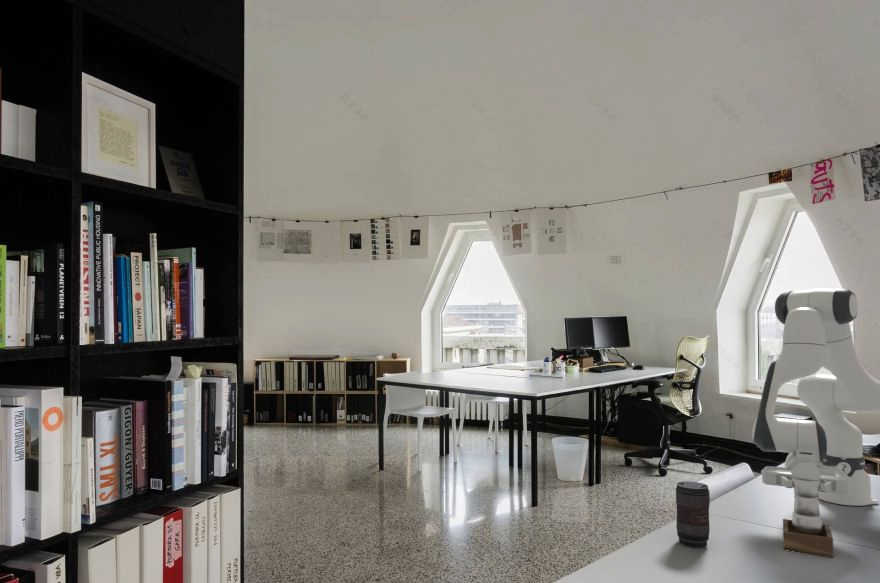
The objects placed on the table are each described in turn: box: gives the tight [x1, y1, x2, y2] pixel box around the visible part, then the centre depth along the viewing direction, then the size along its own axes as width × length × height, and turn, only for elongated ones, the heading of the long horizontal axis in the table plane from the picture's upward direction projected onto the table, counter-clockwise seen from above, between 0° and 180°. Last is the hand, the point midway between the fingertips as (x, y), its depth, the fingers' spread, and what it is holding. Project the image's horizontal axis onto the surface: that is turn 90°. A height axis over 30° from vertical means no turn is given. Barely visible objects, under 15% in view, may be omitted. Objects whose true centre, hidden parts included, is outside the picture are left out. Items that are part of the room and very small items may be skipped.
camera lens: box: [675, 481, 711, 549], centre depth 166 cm, size 8×8×15 cm
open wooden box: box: [782, 518, 834, 559], centre depth 163 cm, size 12×10×4 cm
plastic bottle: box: [791, 452, 823, 534], centre depth 164 cm, size 6×7×20 cm
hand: (806, 486), depth 163 cm, fingers closed on plastic bottle, 6 cm apart
